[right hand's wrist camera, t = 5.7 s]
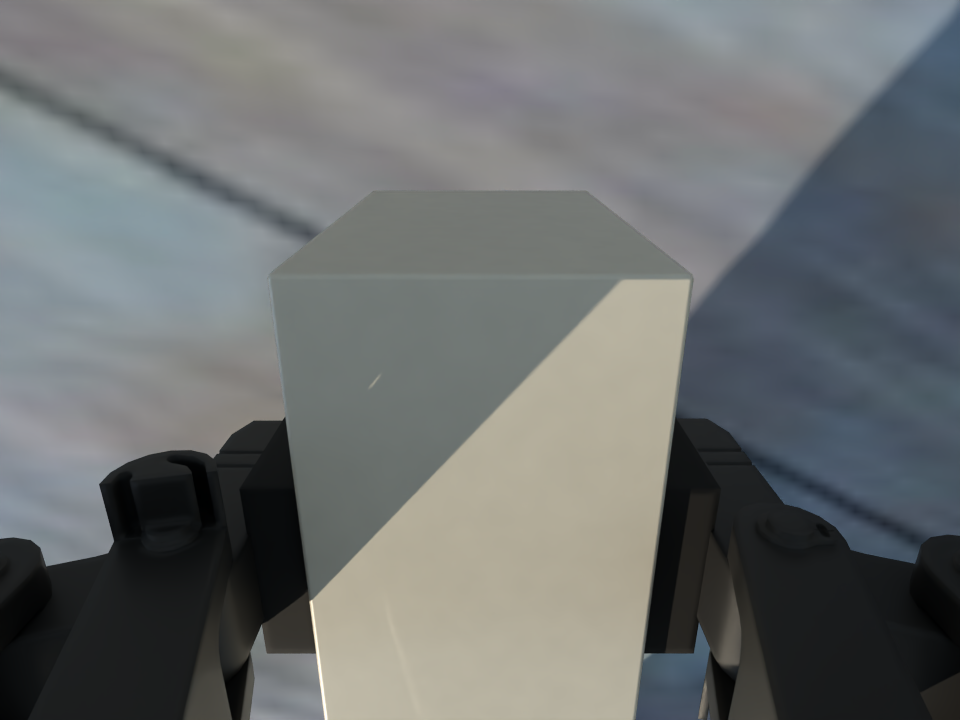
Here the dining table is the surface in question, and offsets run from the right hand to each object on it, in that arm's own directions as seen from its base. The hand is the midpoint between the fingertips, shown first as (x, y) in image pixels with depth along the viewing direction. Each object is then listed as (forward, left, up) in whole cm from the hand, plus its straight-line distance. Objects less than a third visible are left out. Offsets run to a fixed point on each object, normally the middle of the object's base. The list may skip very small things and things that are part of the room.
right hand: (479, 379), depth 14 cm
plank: (+8, 0, 0) cm, 8 cm away
